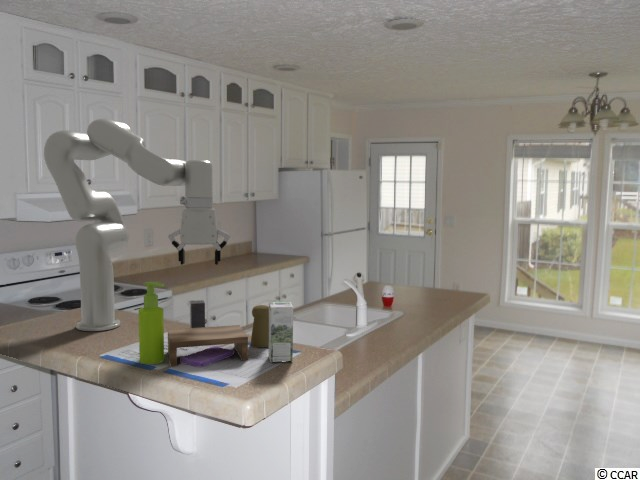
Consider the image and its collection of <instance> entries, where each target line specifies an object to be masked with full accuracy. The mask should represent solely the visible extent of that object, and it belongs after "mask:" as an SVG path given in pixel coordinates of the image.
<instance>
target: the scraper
mask: <svg viewBox="0 0 640 480" xmlns="http://www.w3.org/2000/svg"><path fill="white" fill-rule="evenodd" d="M205 302H206V301H205V300H202V299H200V300H198V299H197V300H189V328H202V327H206V303H205ZM187 328H188V327H186V328H185V329H187Z"/></svg>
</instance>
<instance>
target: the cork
mask: <svg viewBox="0 0 640 480" xmlns="http://www.w3.org/2000/svg"><path fill="white" fill-rule="evenodd" d="M251 314H252V317H253V322H252V330H251V331H252V332H251V338H250V347H252V348H254V347H267V348H269V305H262V304H258V305H255V306H253V308H251Z"/></svg>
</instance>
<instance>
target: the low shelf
mask: <svg viewBox="0 0 640 480" xmlns="http://www.w3.org/2000/svg"><path fill="white" fill-rule="evenodd" d="M186 328H187V329H186ZM186 328H176V329H175V328H174V329H167V353H168V354H167V355H168V359H169V365H170V367H176V366H178V360H177V359H178V358H177V357H178V354H177V353H178V349H181V348H191V347H206V346H207V347H208V346H217V345H218V346H219V345H221V346H222V345H234V346H233V348H234V350H236V352H237V355H238V356H239V358H240V359H241V361H248V360H249V336H248V335H247V334H246V332H245V331H244V329H243V328H242V326H241V325H240V324H238V325H237V324H236V325H235V324H234V325H233V324H232V325H219V326H218V325H217V326H205V327H202V328H190V327H186Z"/></svg>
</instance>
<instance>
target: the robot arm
mask: <svg viewBox="0 0 640 480" xmlns="http://www.w3.org/2000/svg"><path fill="white" fill-rule="evenodd" d="M86 128H87V129H86V132H83V131H76V130H66V129H65V130H59V131H55V132H53V133H52V134H51V135H50V136H48V138H47V139H46V142H45V143H44V144H45V145H44V148H43V157H44V162H45V164H46V167H47V169H48V171H49V173H50V175H51V177H52V178H53V180H54V182H55V185H56V187H57V189H58V192H59V195H60V197H61V200H62V201H63V204H64V206H65V208H66V210H67V213H68V215H69V217H70V218H71V219H72V220H73V221H76V222H85V223H86V222H93V223H88V224H86V225H83V226H82V227H80V228H79V229H78V231H77V232H76V234H75V240H74V241H75V242H74V243H75V248H76V252H77V255H78V256H77V257H78V265H79V282H80V283H79V284H80V285H79V286H80V309H81V310H80V312H81V314H80V317H81V320H80V321H79V322H77V323H76V324H75V328H76V329H77V330H79V331H82V332H101V331H107V330H108V331H109V330H112V329H116V328H119V326H120V325H121V320H120V319H118V318H115V317H116V316H115V315H116V313H115V312H116V311H115V307H116V306H115V284H114V283H115V280H114V279H115V277H114V275H115V274H114V273H115V272H114V266H113V262H112V259H111V257H110V253H115V252H119V251H122V250H123V249H125V247H126V246H127V245H128V243H129V239H130V238H129V237H130V236H129V231H128V227H127V225H126V223H125V220H124V218H123V216H122V213H121V211H120V209H119V207H118V204H117V202H116V200H115V199H114V197H113V196H112V195H111V194H110V193H109V192H107V191H104V190H101V189H92V188H91V186H90V184H89V182H88V179H87V178H86V175H85V173H84V172H83V170H82V169H81V168H80V167H79V165H77V164H76V162H75V161H76V160H77V161H95V160H99V159H102V158H104V157H105V158H106V157H107V156H111V155H112V156H113V157H115V158H118V159H119V160H120V161H122V162H124V163H126V164H127V165H128V167H129V168H130V169H131V170H132V171H133V172H134V173H136V175H138V176H140V177H141V178H144V179H145V180H148V181H149V182H150V183H151V182H152V183H153V184H155V185H158V186H162V187H167V186H168V187H176V186H177V187H181V186H185V198H184V199H180V205H183V206H184V208H182V211H181V218H180V219H181V220H180V228H179V229H177V230H175V231H173V232H171V233H170V234H168V236H167V237H168V239H169V241H170V243H171V244H172V246H173V247H175V249H176V250H177V251H178V256H177V257H178V262H180V265H181V266H182V265H184V264H186V258H185V257H186V256H185V255H186V254H185V253H186V252H185V251H186V250H185V249H184V247H185V246H186V245H201V246H202V245H205V246H206V245H212V246H213V247H214V248H215V250H214V265H219V262H221V261H222V260H221V258H222V257H221V256H222V253H221V250H223V248H224V247H225V246H226V245H227V243H228V242H229V240H230V238H231V235H230V234H229V233H227V232H226V231H224V230H221V229H219V228H218V217H217V213H216V209H215V208H214V204H213V202H214V201H213V200H214V199H213V197H214V195H213V194H214V193H213V190H214V189H213V164H212V162H211V161H210V160H205V159H201V160H200V159H190V160H184V159H175V158H173V159H172V158H165V157H162V156H160V155H158V154H156V153H154V152H153V151H151V150H149V149H148V148H146V142H145V140H144V138H142V137H141V136H139V135H138V134H135V133H133V131H132V129H131V128H130V126H129V125H128V124H126V123H125V122H122V121H120V120H113V119H108V118H107V119H106V118H98V119H95V120H93V121H91V122H90V124H89V125H88V126H87V127H86ZM179 235H180V238H179V239H180V243H179V242H178V241H177V240H176V237H177V236H179ZM218 235H220V236H221V237H223V241H222V242H219V241H218V239H219V238H218Z"/></svg>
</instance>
